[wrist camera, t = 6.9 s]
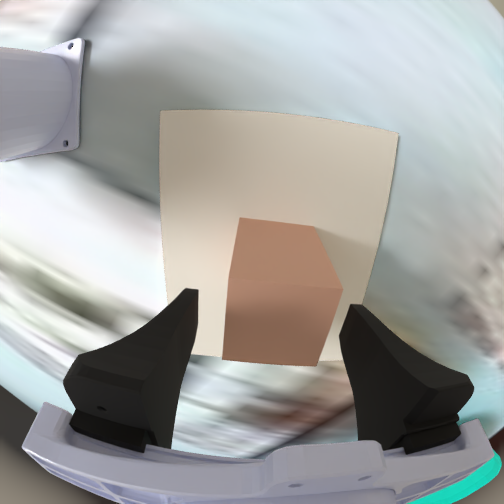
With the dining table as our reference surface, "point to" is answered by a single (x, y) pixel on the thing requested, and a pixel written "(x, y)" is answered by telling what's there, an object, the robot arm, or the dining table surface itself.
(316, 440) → the dining table surface
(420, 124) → the dining table surface
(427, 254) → the dining table surface
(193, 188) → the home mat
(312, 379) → the dining table surface
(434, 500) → the table top decor
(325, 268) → the block
